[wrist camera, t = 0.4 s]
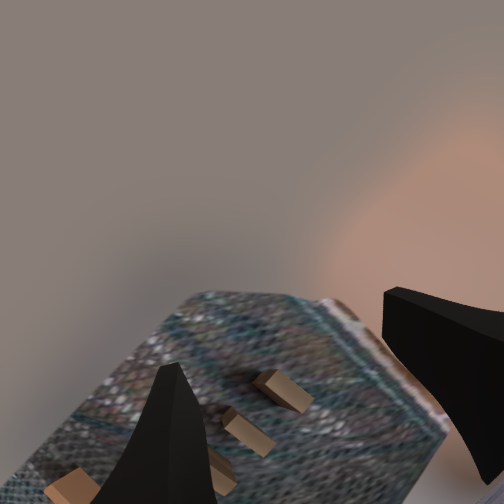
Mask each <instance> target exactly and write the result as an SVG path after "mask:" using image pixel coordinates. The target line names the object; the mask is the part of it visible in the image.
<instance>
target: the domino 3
mask: <svg viewBox="0 0 504 504" xmlns="http://www.w3.org/2000/svg"><path fill="white" fill-rule="evenodd" d="M221 420H222V423H223V425H224V428H225V429H226V430H227V431H228V432H230V433H231V434H232V435H234V436H235V437H236V438H237V439H239V440H240V441H241V442H243V443H244V444H245V445H247V446H248V447H250V448H251V449H252V450H254V451H255V452H256V453H258V454H259V455H261V456H262V457H265V455H266V454H267V453H268V452H269V451H270V450H271V449H272V448H273V447H274V446H275V445H276V444H277V443H276V442H275V441H273V440H272V439H271V438H270V437H269V436H268V435H267V434H266V433H264V432H263V431H262V430H261V429H260V428H258V427H257V426H256V425H254V424H253V423H252V422H251V421H249V420H248V419H247V418H245V417H244V416H243V415H242V414H240V413H239V412H238V411H237V410H235V409H234V408H233V407H232V406H231V407H230V408H229V409H228V410H227V411H226V412H225V413H224V414H223V415H222V416H221Z"/></svg>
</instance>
